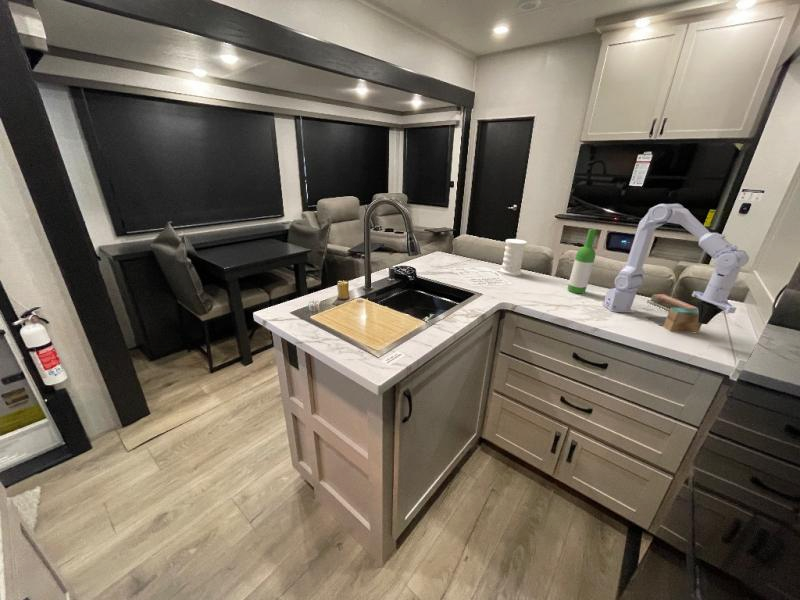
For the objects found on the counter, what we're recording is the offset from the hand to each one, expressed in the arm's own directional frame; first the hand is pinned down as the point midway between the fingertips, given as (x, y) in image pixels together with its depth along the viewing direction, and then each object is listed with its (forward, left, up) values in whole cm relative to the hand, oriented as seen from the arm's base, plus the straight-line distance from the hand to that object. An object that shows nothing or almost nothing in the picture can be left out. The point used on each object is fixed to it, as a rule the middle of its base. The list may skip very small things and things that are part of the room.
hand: (702, 323), depth 108 cm
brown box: (0, +7, -6) cm, 10 cm away
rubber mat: (0, +13, -6) cm, 15 cm away
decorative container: (-48, +68, -6) cm, 83 cm away
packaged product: (+11, +26, -7) cm, 29 cm away
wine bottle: (-23, +43, -6) cm, 49 cm away
